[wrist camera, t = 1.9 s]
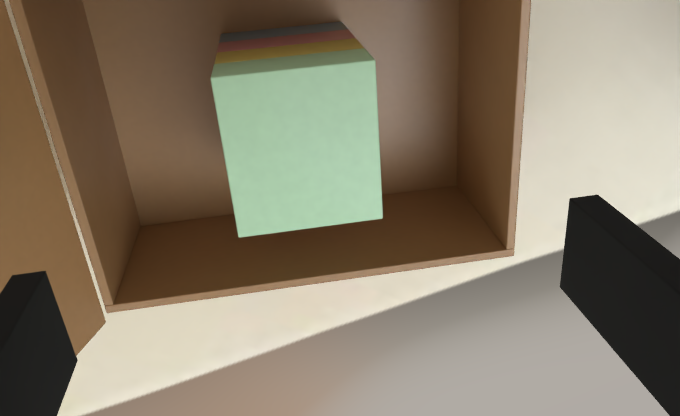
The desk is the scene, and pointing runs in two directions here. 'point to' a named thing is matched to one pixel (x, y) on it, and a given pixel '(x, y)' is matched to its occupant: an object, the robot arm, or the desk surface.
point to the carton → (207, 152)
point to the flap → (38, 202)
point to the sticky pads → (298, 127)
